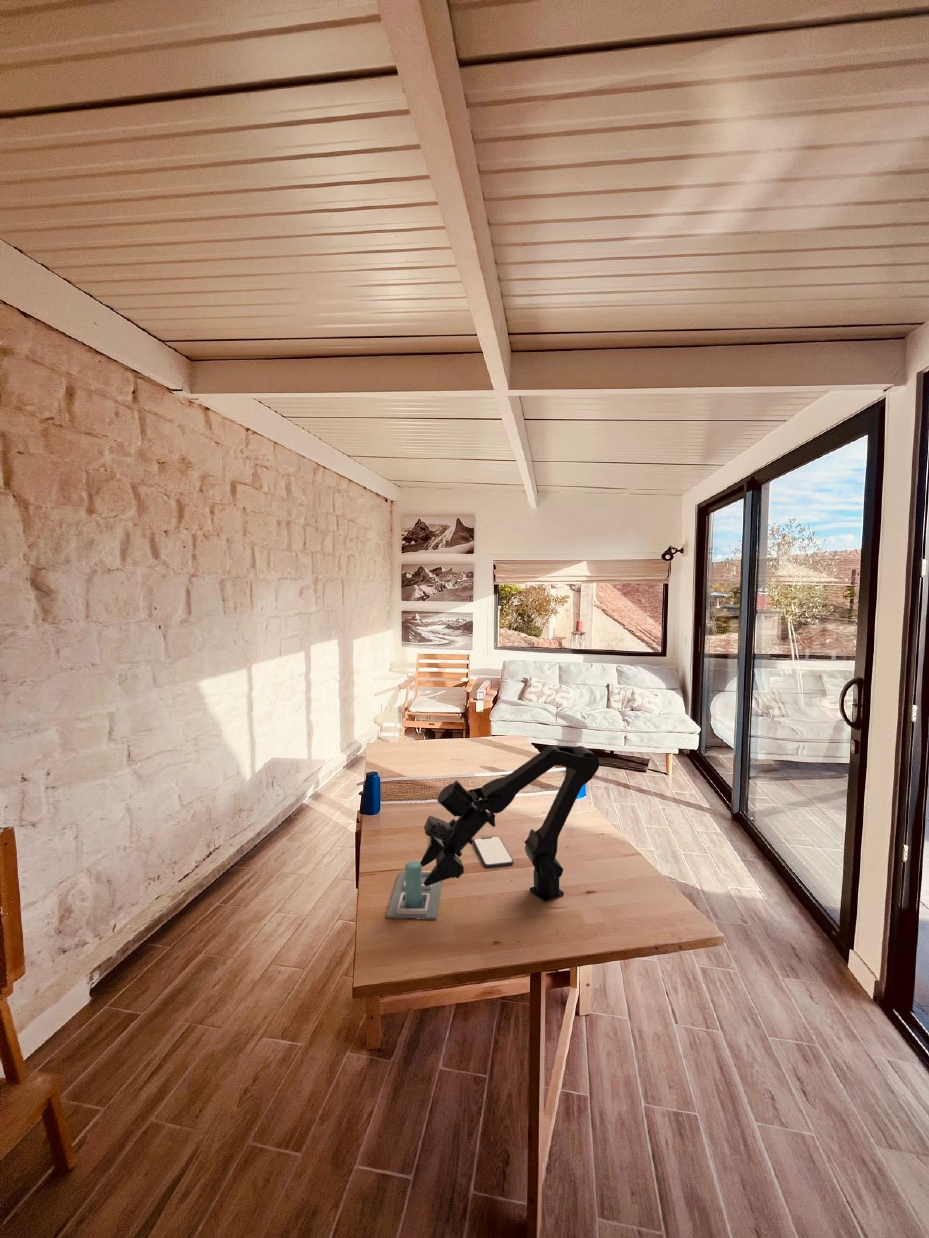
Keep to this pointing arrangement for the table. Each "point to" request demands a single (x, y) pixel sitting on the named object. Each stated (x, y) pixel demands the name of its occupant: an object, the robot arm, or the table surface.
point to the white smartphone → (492, 852)
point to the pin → (413, 885)
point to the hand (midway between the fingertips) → (422, 874)
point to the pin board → (428, 900)
